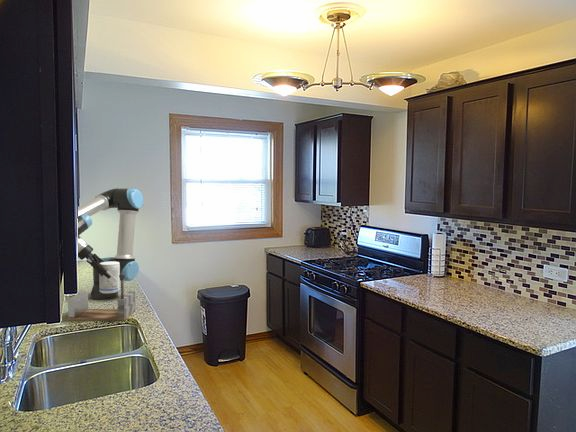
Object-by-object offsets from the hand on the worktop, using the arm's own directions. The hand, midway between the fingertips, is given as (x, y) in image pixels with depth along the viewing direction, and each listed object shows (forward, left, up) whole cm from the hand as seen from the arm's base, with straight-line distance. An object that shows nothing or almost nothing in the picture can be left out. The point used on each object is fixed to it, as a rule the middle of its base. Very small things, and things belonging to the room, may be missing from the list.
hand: (116, 279), depth 207 cm
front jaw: (+1, -19, -17) cm, 25 cm away
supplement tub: (+1, -3, -6) cm, 7 cm away
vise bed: (+1, -7, -18) cm, 20 cm away
